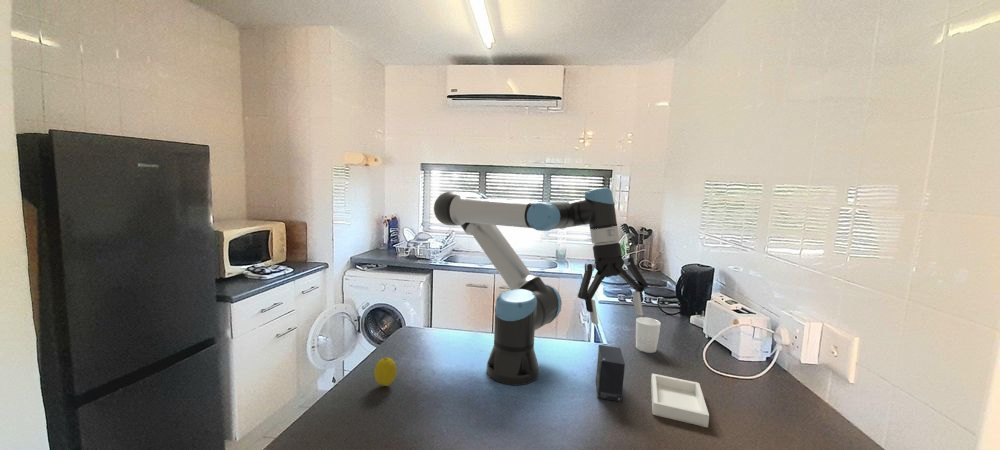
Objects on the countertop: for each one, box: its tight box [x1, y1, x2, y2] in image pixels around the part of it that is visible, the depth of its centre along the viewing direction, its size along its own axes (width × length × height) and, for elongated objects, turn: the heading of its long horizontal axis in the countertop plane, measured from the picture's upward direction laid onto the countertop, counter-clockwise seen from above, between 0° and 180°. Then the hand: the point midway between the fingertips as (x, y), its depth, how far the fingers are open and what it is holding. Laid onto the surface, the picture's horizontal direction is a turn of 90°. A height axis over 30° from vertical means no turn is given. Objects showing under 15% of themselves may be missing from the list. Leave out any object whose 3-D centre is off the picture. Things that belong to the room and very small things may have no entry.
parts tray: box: [650, 373, 710, 428], centre depth 96 cm, size 12×16×3 cm
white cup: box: [635, 316, 661, 354], centre depth 129 cm, size 8×8×10 cm
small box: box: [595, 344, 626, 402], centre depth 100 cm, size 11×6×10 cm, turn 168°
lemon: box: [374, 356, 397, 387], centre depth 97 cm, size 6×6×8 cm
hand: (617, 318), depth 103 cm, fingers open, 13 cm apart
